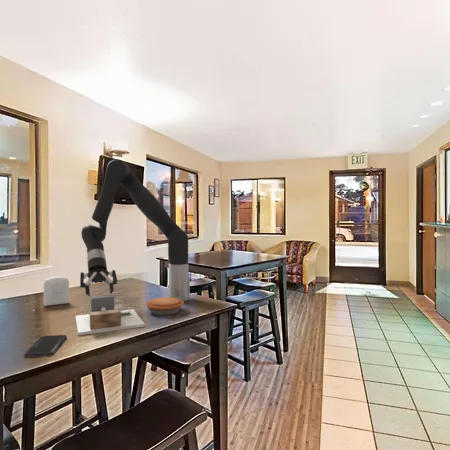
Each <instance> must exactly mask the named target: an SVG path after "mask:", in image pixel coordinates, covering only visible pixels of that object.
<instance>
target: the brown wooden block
mask: <svg viewBox="0 0 450 450" xmlns="http://www.w3.org/2000/svg"><path fill="white" fill-rule="evenodd" d="M121 311H122V310H121V309H120V308H118V309H117V308H116V309H114V310H107V311H98V312H91V311H90V312H89V314H90V330H95V329H102V328H110V327H117V326H121Z"/></svg>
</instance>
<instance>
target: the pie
mask: <svg viewBox="0 0 450 450" xmlns="http://www.w3.org/2000/svg"><path fill="white" fill-rule="evenodd" d="M184 304H185V301H181V300H179V299H177V298H173V297H169V296H167V297H166V296H165V297H156V298H152V299H150V300H149V301H147V302H146V303H145V306H146V308H148V310H149V312H150V313H151V314H153V315H154V316H155V315H156V316H170V315H174V314H178V312H179V311H180V310H181V308H182V306H183V305H184Z"/></svg>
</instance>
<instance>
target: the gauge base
mask: <svg viewBox="0 0 450 450" xmlns="http://www.w3.org/2000/svg"><path fill="white" fill-rule="evenodd" d="M120 311H121V313H129V312H130V314H129V315H121V326H117V327H110V328H102V329H95V330H90V313H89V314H88V313H87V314H80V315H75V322H76V323H75V324H76V331H77V336H85V335H92V334H99V333H107V332H113V331H114V332H115V331H121V330H129V329H136V328H142V327H145V322H144V321H143V320H142V318H141V317H140V316H139V314H138V313H137V312H136V311H135V309H134V308H131V309H123V310H120Z"/></svg>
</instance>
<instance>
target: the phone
mask: <svg viewBox="0 0 450 450" xmlns="http://www.w3.org/2000/svg"><path fill="white" fill-rule="evenodd" d="M66 339H67V335H66V334H59V335H58V334H57V335H43V336H41V337H40V338H38V340H37V341H35V343H33V345H31V346H30V347H29V348H28V349H27V350H26V351H25V352H24V353H23V354H24V355H23V356H24V357H25V358H32V357H33V358H34V357H35V358H36V357H38V358H39V357H51V356H53V355H55V353H57V350H58V349H59V348H61V346H62V344H64V342H65V341H66Z"/></svg>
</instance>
